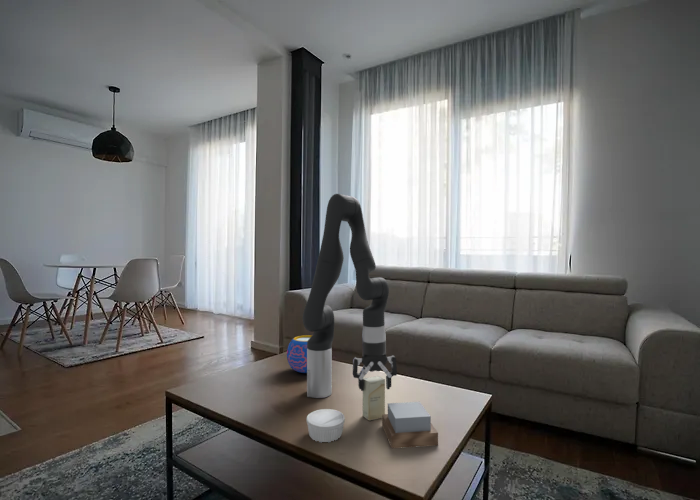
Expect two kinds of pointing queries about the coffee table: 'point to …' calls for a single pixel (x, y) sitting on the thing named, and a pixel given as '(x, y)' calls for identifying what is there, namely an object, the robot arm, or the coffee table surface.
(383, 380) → the skincare box
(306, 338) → the ceramic pot
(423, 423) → the slate top block
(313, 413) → the ramekin
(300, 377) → the coffee table surface
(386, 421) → the walnut base block
